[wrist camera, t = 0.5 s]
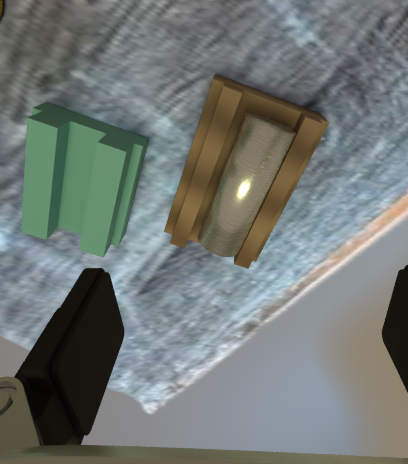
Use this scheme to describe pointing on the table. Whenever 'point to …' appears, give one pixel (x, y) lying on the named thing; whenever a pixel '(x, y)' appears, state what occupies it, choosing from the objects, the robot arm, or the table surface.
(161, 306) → the table surface
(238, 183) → the axle
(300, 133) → the wooden channel block
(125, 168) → the v block
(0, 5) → the bark patterned canister
